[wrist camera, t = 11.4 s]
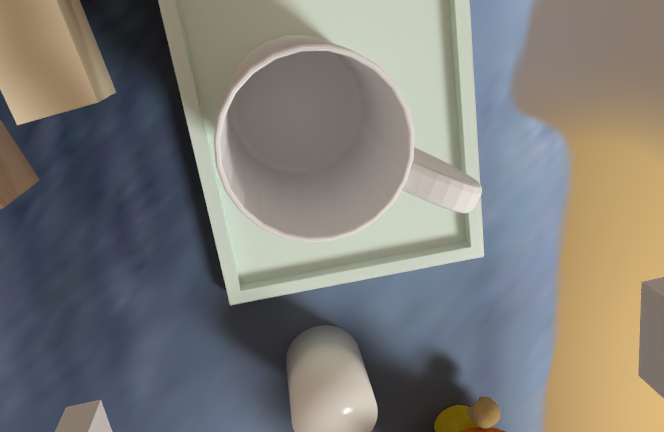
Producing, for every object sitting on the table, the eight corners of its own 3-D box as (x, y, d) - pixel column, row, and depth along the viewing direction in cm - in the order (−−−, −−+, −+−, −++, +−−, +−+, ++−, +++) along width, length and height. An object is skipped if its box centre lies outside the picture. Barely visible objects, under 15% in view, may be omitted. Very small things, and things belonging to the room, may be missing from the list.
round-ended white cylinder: (292, 395, 39) (299, 459, 33) (279, 333, 37) (284, 389, 32) (364, 380, 39) (382, 441, 34) (354, 318, 38) (372, 371, 32)
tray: (231, 294, 36) (230, 305, 34) (150, -52, 29) (144, -56, 28) (475, 247, 37) (484, 256, 36) (453, -96, 30) (463, -102, 29)
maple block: (45, 112, 31) (17, 125, 27) (-24, -44, 28) (-66, -53, 25) (116, 91, 31) (98, 102, 27) (55, -65, 28) (24, -77, 25)
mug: (207, 149, 32) (186, 208, 22) (252, 11, 30) (253, 9, 20) (400, 215, 35) (457, 293, 25) (454, 93, 33) (540, 126, 23)
